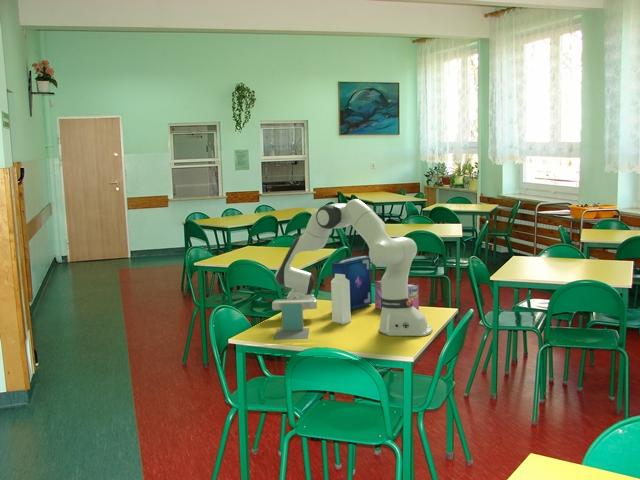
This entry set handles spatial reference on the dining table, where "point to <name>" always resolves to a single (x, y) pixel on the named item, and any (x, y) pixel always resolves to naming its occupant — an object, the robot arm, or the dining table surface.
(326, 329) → the dining table surface
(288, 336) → the mat
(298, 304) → the tile
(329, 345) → the dining table surface
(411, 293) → the gum box
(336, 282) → the milk
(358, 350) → the dining table surface
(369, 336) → the dining table surface
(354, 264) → the book
